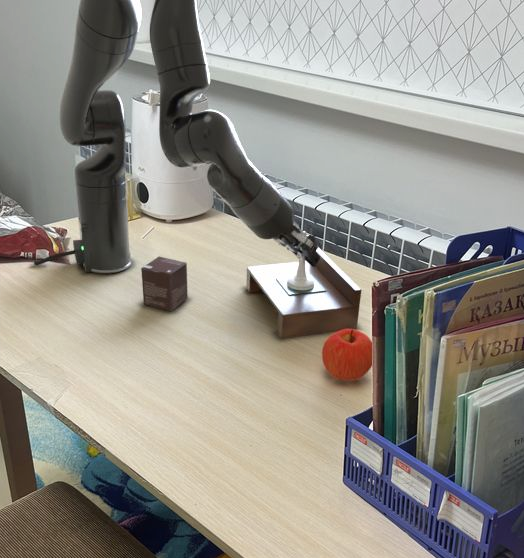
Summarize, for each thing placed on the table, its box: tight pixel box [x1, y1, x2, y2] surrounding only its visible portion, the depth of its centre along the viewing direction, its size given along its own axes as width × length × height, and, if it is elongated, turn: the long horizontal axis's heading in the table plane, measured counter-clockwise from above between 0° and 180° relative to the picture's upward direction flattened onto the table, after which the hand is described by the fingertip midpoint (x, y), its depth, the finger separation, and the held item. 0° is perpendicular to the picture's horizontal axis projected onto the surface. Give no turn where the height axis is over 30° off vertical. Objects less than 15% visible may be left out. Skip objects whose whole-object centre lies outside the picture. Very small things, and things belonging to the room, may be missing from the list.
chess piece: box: [287, 230, 314, 290], centre depth 121 cm, size 5×5×10 cm
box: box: [140, 256, 189, 312], centre depth 124 cm, size 6×6×7 cm
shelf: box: [245, 246, 362, 339], centre depth 125 cm, size 14×20×8 cm
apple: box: [321, 329, 373, 381], centre depth 106 cm, size 8×8×8 cm
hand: (310, 259), depth 123 cm, fingers closed on chess piece, 2 cm apart
